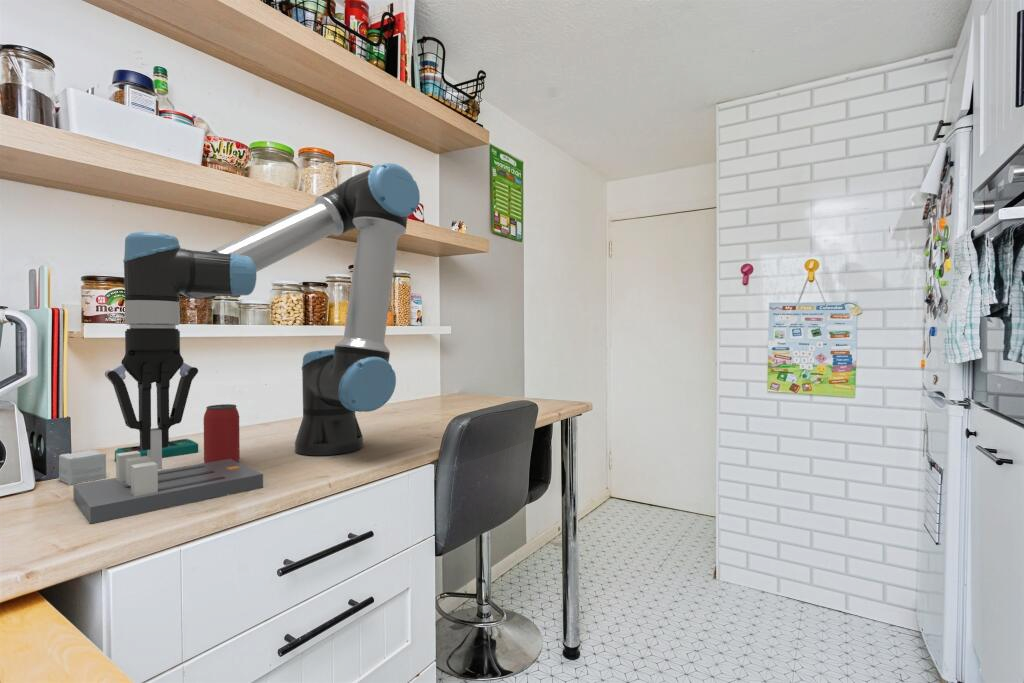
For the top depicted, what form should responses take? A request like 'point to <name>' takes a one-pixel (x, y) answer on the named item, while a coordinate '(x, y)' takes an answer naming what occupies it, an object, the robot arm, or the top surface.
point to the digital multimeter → (167, 448)
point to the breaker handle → (132, 462)
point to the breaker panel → (160, 487)
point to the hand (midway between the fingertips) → (154, 468)
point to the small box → (82, 467)
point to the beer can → (221, 433)
